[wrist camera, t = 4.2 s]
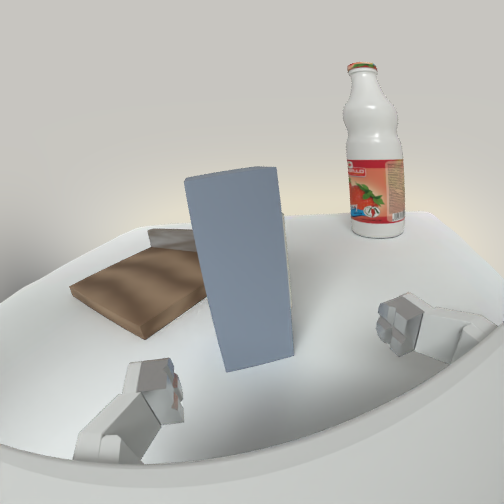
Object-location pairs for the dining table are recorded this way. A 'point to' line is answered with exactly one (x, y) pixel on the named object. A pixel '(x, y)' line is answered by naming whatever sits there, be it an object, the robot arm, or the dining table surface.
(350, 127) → the fruit juice
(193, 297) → the shelf board
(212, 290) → the carton
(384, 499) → the robot arm
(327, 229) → the dining table surface
